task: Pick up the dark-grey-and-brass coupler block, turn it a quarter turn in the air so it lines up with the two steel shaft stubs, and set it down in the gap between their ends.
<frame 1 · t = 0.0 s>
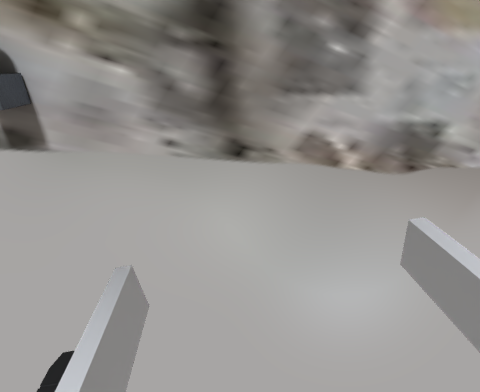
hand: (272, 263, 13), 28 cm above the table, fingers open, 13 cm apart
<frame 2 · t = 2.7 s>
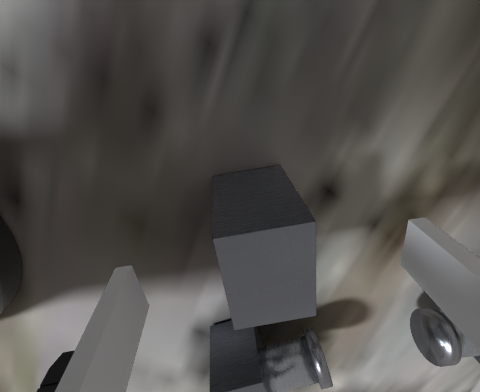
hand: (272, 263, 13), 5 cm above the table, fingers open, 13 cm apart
coupler: (252, 210, 17), on the table
shaft 2: (268, 330, 22), on the table
shaft 1: (441, 299, 23), on the table
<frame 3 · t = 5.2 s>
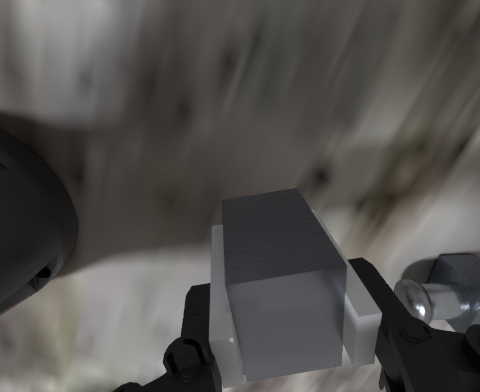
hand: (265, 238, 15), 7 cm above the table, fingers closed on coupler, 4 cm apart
coupler: (264, 236, 15), point 6 cm above the table, touching gripper
shaft 1: (422, 276, 26), on the table
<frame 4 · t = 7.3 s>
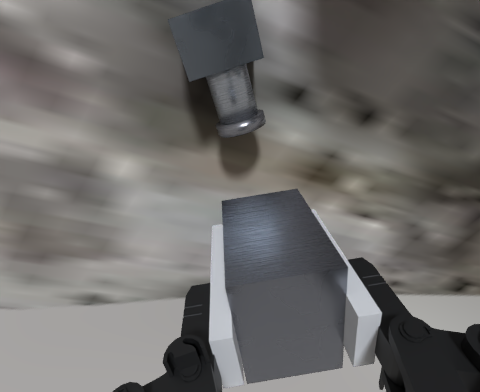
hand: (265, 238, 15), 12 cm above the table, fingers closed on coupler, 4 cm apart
coupler: (264, 237, 15), point 12 cm above the table, touching gripper
shaft 2: (227, 78, 22), on the table
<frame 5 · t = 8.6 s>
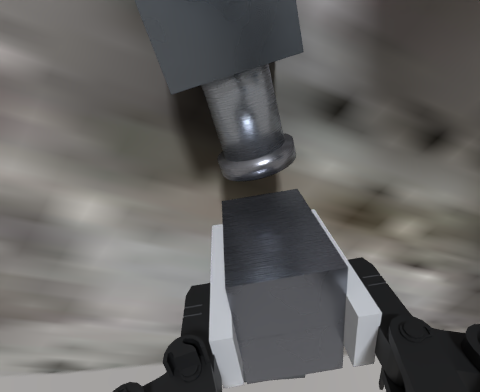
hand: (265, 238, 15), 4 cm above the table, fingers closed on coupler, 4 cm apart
coupler: (264, 237, 15), point 3 cm above the table, touching gripper
shaft 2: (235, 85, 14), on the table
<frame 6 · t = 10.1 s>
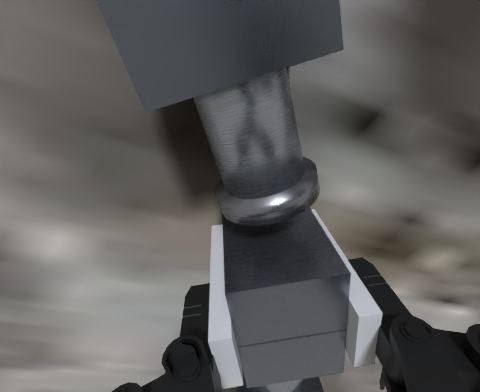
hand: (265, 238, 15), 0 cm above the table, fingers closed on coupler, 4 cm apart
coupler: (265, 238, 15), on the table, touching gripper
shaft 2: (238, 93, 11), on the table
shaft 1: (269, 323, 18), on the table
when the fingers open (0 cm above the table, at t = 10.1 s): coupler stays where it is, on the table.
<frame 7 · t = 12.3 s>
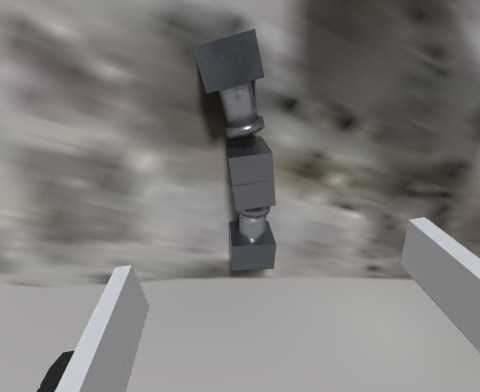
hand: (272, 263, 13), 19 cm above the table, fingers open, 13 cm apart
coupler: (246, 162, 30), on the table
shaft 2: (233, 90, 27), on the table
shaft 1: (249, 216, 34), on the table
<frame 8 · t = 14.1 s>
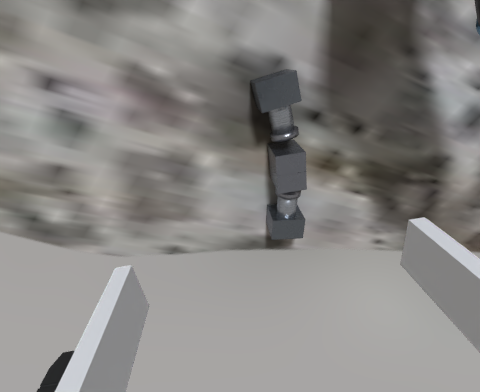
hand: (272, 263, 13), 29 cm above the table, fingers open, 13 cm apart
coupler: (281, 158, 41), on the table
shaft 2: (275, 107, 37), on the table
shaft 1: (282, 199, 44), on the table
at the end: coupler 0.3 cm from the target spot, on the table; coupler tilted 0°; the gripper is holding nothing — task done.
